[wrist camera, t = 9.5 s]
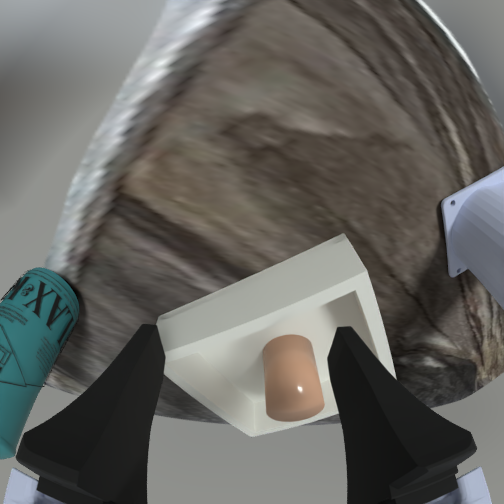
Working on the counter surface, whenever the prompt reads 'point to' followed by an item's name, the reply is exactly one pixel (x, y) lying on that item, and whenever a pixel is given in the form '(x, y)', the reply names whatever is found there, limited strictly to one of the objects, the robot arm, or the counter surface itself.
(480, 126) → the counter surface
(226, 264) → the counter surface
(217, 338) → the bin
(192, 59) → the counter surface
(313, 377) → the peach cylinder
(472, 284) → the counter surface
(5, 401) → the beverage bottle
